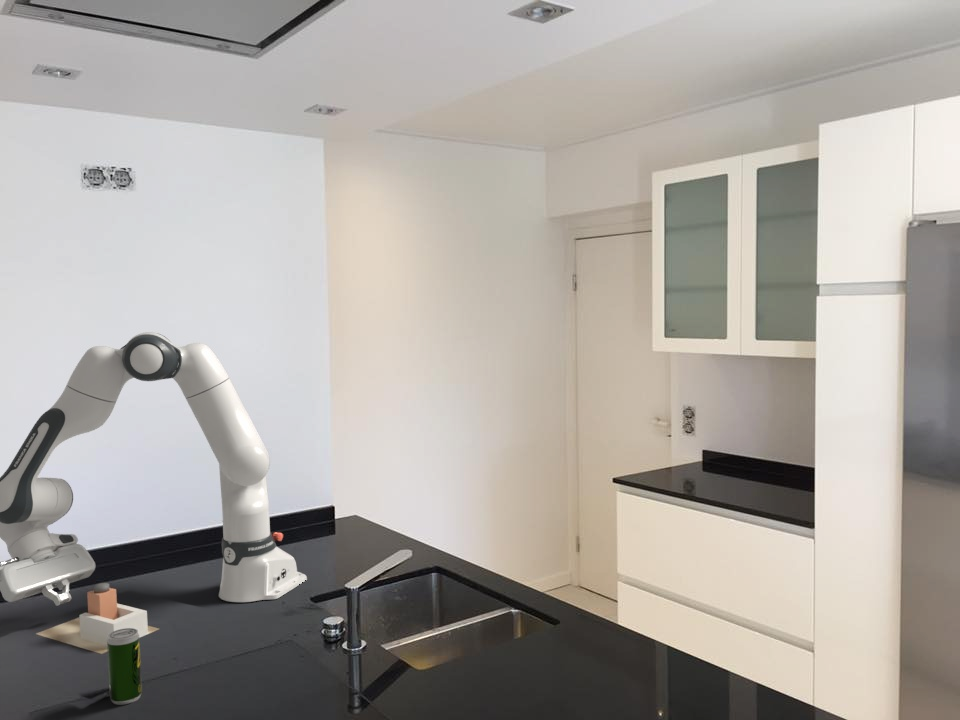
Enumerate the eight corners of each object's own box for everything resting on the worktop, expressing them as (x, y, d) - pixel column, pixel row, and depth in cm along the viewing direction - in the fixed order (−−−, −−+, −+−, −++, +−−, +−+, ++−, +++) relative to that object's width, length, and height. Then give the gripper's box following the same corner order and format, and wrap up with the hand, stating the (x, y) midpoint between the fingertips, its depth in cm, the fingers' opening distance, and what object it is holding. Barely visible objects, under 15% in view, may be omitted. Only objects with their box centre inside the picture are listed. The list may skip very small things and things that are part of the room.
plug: (106, 627, 176) (103, 580, 175) (118, 630, 174) (115, 583, 173) (89, 633, 172) (86, 586, 171) (101, 637, 170) (99, 589, 169)
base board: (94, 618, 185) (94, 611, 185) (160, 635, 175) (159, 628, 175) (35, 640, 173) (35, 633, 173) (101, 661, 162) (101, 653, 162)
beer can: (112, 708, 143) (109, 642, 142) (107, 696, 147) (104, 632, 147) (145, 699, 146) (142, 634, 145) (139, 688, 150) (136, 625, 150)
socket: (114, 624, 177) (113, 602, 177) (148, 633, 172) (146, 610, 172) (80, 638, 170) (79, 614, 170) (114, 648, 165) (113, 624, 165)
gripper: (-7, 556, 172) (23, 609, 168) (81, 532, 190) (110, 580, 186) (-18, 574, 175) (12, 626, 171) (70, 549, 192) (99, 596, 188)
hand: (64, 602), depth 178 cm, fingers closed
